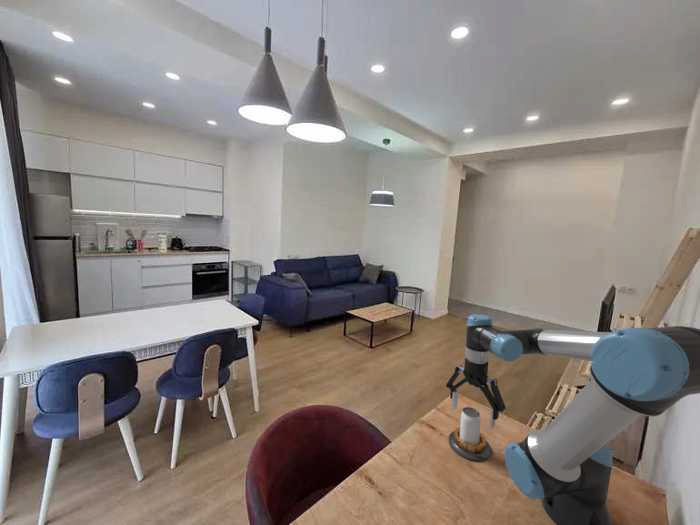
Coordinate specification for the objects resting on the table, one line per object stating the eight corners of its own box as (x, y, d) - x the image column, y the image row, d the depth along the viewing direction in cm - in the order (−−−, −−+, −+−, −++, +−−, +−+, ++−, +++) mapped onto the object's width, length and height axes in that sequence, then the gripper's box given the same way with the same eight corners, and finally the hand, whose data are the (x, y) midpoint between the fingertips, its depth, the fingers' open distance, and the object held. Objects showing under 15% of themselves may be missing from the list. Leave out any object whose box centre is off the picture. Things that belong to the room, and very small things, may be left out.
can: (478, 452, 100) (480, 419, 98) (458, 445, 102) (460, 414, 101) (479, 440, 105) (481, 409, 104) (460, 434, 108) (462, 404, 107)
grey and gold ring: (497, 447, 103) (498, 438, 103) (479, 468, 94) (480, 458, 94) (460, 427, 114) (461, 418, 113) (441, 443, 105) (441, 434, 104)
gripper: (520, 369, 93) (514, 431, 96) (449, 345, 112) (445, 397, 114) (511, 376, 88) (505, 441, 91) (438, 350, 107) (435, 404, 109)
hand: (472, 417), depth 102 cm, fingers open, 13 cm apart
